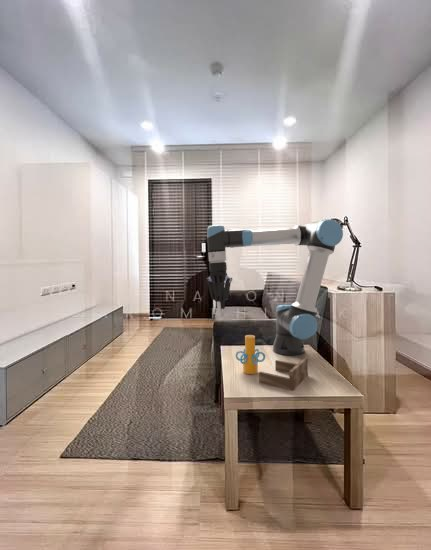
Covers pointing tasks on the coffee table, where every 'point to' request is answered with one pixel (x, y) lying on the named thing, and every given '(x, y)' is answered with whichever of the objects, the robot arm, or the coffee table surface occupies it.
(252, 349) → the cylinder
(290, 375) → the pocket
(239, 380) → the coffee table surface
